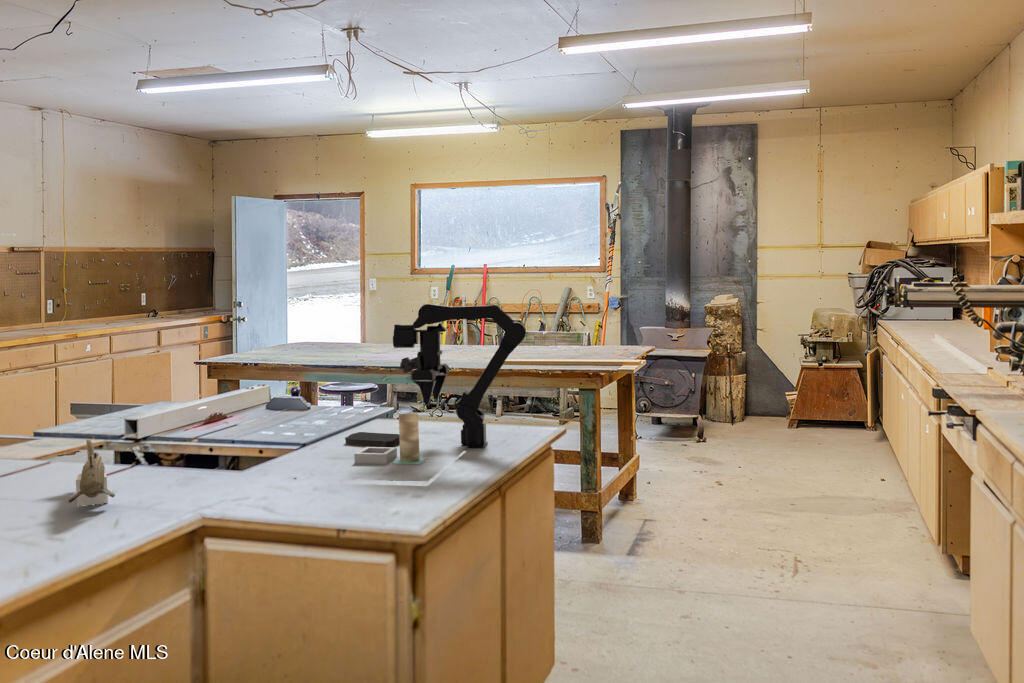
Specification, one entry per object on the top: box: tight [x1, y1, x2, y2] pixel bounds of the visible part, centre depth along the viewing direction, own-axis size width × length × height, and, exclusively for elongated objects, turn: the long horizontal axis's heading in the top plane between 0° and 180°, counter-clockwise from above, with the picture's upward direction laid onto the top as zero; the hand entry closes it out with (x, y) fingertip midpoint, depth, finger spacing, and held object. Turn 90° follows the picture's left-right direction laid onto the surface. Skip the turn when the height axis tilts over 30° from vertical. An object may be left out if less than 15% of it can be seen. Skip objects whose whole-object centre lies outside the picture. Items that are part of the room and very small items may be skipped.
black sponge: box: [344, 431, 400, 447], centre depth 239 cm, size 16×8×4 cm, turn 65°
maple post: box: [398, 412, 420, 462], centre depth 214 cm, size 5×5×12 cm
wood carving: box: [68, 438, 116, 506], centre depth 185 cm, size 9×35×11 cm, turn 27°
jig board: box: [353, 446, 431, 466], centre depth 216 cm, size 18×9×4 cm, turn 79°
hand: (431, 401), depth 237 cm, fingers open, 9 cm apart
